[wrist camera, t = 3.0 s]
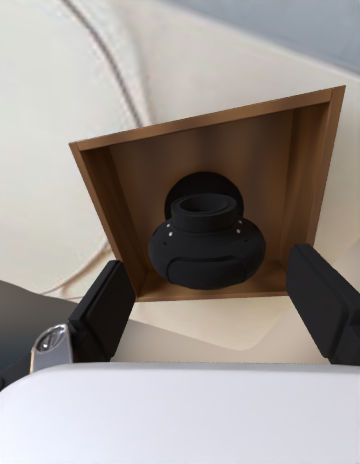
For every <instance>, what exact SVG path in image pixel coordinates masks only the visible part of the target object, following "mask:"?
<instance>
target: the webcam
mask: <svg viewBox="0 0 360 464" xmlns="http://www.w3.org/2000/svg"><path fill="white" fill-rule="evenodd" d="M164 214H165V220H166V221H165V222H163V223H162V224H161V225H159V226H158V227H157V228H156V229H155V231H154V232H153V233H152V235H151V237H150V240H149V245H148V254H149V258H150V260H151V263H152V265H153V267H154V269H155V270H156V271H157V272H158V273H159V275H160V276H161V277H162V278H164V279H165V280H167V281H168V282H170V283H171V284H176V285H179V286H182V287H186V288H189V289H193V290H219V289H223V288H226V287H230V286H233V285H237V284H240V283H244V282H245V281H246V280H248V279H249V278H250V277H252V276H253V275H254V274H255V273H256V272H257V271H258V269H259V267H260V266H261V264H262V262H263V260H264V257H265V252H266V242H265V239H264V236H263V234H262V232H261V231H260V229H259V228H258V226H257V225H255V224H254V223H253V222H251V221H250V220H248V219H245V218H243V214H244V203H243V198H242V195H241V193H240V191H239V189H238V188H237V186H236V185H234V184H233V183H232V182H231V181H230V180H229V179H227V178H226V177H225V176H223V175H220V174H218V173H214V172H203V171H202V172H196V173H192V174H189V175H187V176H185V177H183V178H182V179H180V180H179V181H178V182H177V183H176V184H175V185H174V186H173V187H172V188H171V190H170V191H169V193H168V195H167V197H166V200H165V205H164Z"/></svg>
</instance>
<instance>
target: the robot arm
mask: <svg viewBox="0 0 360 464" xmlns="http://www.w3.org/2000/svg"><path fill="white" fill-rule="evenodd" d="M286 291H287V293H288V295H289V297H290V299H291V300H292V302H293V304H294V306H295V308H296V309H297V311H298V313H299V315H300V317H301V318H302V320H303V322H304V324H305V326H306V327H307V329H308V331H309V333H310V334H311V336H312V338H313V340H314V342H315V344H316V345H317V347H318V349H319V351H320V353H321V354H322V356H323V357H324V358H328V359H329V362H330V363H331V365H330V364H329V365H328V364H295V363H294V364H291V363H206V362H205V363H204V362H199V363H197V362H195V363H194V362H110V359H111V357H113V356H114V355H115V352H116V350H117V347H118V344H119V342H120V339H121V337H122V334H123V332H124V329H125V326H126V324H127V321H128V318H129V316H130V313H131V311H132V308H133V305H134V303H135V300H136V294H135V291H134V288H133V286H132V283H131V281H130V278H129V275H128V273H127V270H126V268H125V265H124V263H123V262H121V261H120V260H111V261H109V262H108V263H107V265H106V266H105V267H104V269H103V270H102V272H101V273H100V274H99V276H98V277H97V279H96V280H95V282H94V283H93V284H92V286H91V287H90V289H89V290H88V291H87V293H86V294H85V296H84V297H83V299H82V300H81V301H80V303H79V304H78V306H77V307H76V309H75V310H74V312H73V313H72V314H71V316H70V317H69V318H68V320H69V322H68V324H67V325H65V324H58V325H55V326H52V327H51V328H49V329H47V330H46V331H45V332H43V333H42V334H41V335H40V336H39V337H38V338H37V340H36V341H35V343H34V345H33V348H32V352H31V353H30V354H28V355H26V356H25V357H23V358H22V359H20V360H19V361H17V362H15V363H14V364H12V365H11V366H9V367H8V368H6V369H4V370H3V371H2V372H0V464H360V293H359V292H358V291H356V289H355V288H353V286H352V285H350V283H348V281H346V280H345V278H343V277H342V276H341V275H340V274H339V273H338V272H337V271H336V270H335V269H334V268H332V266H331V265H330V264H329V263H328V262H327V261H326V260H325V259H324V258H323V257H322V256H321V255H320V254H319V253H318V252H317V251H316V250H315V249H314V248H313V247H312V246H311V245H310V244H308V243H302V244H295V245H294V247H291V248H290V254H289V262H288V270H287V278H286Z"/></svg>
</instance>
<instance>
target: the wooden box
mask: <svg viewBox="0 0 360 464" xmlns="http://www.w3.org/2000/svg"><path fill="white" fill-rule="evenodd" d="M345 87H346V85H343V86H338V87H334V88H329V89H324V90H319V91H314V92H309V93H305V94H300V95H295V96H290V97H285V98H281V99H276V100H271V101H266V102H262V103H257V104H252V105H247V106H242V107H238V108H233V109H228V110H223V111H219V112H214V113H209V114H204V115H199V116H195V117H190V118H185V119H180V120H175V121H171V122H166V123H161V124H156V125H152V126H147V127H142V128H137V129H132V130H128V131H123V132H118V133H113V134H109V135H104V136H99V137H94V138H89V139H85V140H80V141H75V142H70V143H68V144H69V147H70V149H71V151H72V154H73V156H74V159H75V161H76V163H77V166H78V168H79V171H80V173H81V175H82V178H83V180H84V183H85V185H86V188H87V190H88V192H89V195H90V197H91V200H92V202H93V204H94V207H95V209H96V212H97V214H98V216H99V219H100V221H101V224H102V226H103V229H104V231H105V233H106V236H107V238H108V241H109V243H110V245H111V248H112V250H113V253H114V255H115V257H116V260H120V261H121V262H123V263H124V265H125V268H126V270H127V273H128V275H129V278H130V281H131V283H132V286H133V288H134V291H135V294H136V300H135V302H155V301H178V300H201V299H225V298H248V297H271V296H289V295H288V293H287V291H286V278H287V270H288V262H289V254H290V248H291V247H294V245H295V244H302V243H308V244H310V245H311V246H312V247H313V245H314V240H315V235H316V230H317V225H318V221H319V216H320V211H321V206H322V201H323V196H324V191H325V186H326V181H327V176H328V171H329V166H330V161H331V156H332V151H333V147H334V142H335V137H336V132H337V127H338V122H339V117H340V112H341V107H342V102H343V97H344V92H345ZM202 171H203V172H214V173H218V174H220V175H223V176H225V177H226V178H227V179H229V180H230V181H231V182H232V183H233V184H234V185H236V186H237V188H238V189H239V191H240V193H241V195H242V198H243V203H244V214H243V218H245V219H248V220H250V221H251V222H253V223H254V224H255V225H257V226H258V228H259V229H260V231H261V232H262V234H263V236H264V239H265V242H266V252H265V257H264V260H263V262H262V264H261V266H260V267H259V269H258V271H257V272H256V273H255V274H254V275H253V276H252V277H250V278H249V279H248V280H246V281H245V282H244V283H240V284H237V285H233V286H230V287H226V288H223V289H219V290H193V289H189V288H186V287H182V286H179V285H176V284H171V283H170V282H168V281H167V280H165V279H164V278H162V277H161V276H160V275H159V273H158V272H157V271H156V270H155V269H154V267H153V265H152V263H151V260H150V258H149V254H148V245H149V240H150V237H151V235H152V233H153V232H154V231H155V229H156V228H157V227H158V226H159V225H161V224H162V223H163V222H165V221H166V220H165V214H164V205H165V200H166V197H167V195H168V193H169V191H170V190H171V188H172V187H173V186H174V185H175V184H176V183H177V182H178V181H179V180H180V179H182V178H183V177H185V176H187V175H189V174H192V173H196V172H202Z"/></svg>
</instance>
